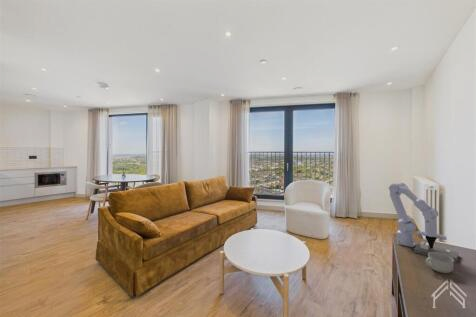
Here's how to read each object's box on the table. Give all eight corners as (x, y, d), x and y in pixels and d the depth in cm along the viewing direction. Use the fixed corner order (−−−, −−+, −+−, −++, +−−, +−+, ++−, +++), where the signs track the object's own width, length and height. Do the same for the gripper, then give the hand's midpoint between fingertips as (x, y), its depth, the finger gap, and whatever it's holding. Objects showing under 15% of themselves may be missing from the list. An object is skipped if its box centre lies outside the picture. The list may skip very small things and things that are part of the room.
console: (414, 252, 146) (413, 248, 145) (418, 246, 153) (417, 243, 153) (456, 262, 130) (456, 258, 130) (458, 255, 138) (458, 251, 138)
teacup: (443, 265, 128) (442, 252, 128) (460, 275, 117) (459, 261, 117) (417, 265, 129) (417, 252, 129) (432, 275, 118) (431, 261, 118)
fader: (420, 248, 146) (420, 243, 146) (422, 245, 149) (421, 241, 149) (428, 249, 143) (428, 245, 143) (429, 247, 146) (429, 242, 146)
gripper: (415, 226, 146) (416, 246, 146) (445, 231, 135) (445, 253, 135) (417, 223, 151) (418, 243, 151) (446, 228, 140) (447, 249, 140)
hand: (431, 247), depth 143 cm, fingers closed
